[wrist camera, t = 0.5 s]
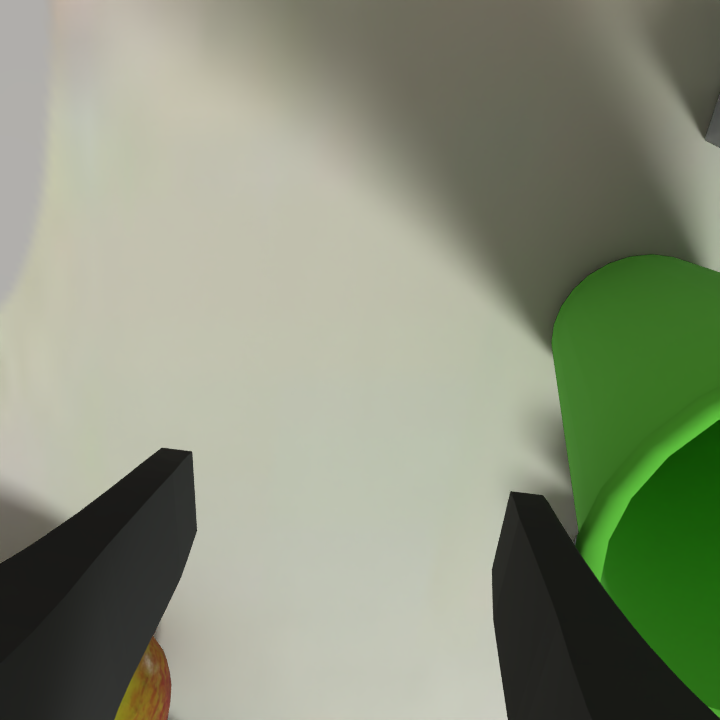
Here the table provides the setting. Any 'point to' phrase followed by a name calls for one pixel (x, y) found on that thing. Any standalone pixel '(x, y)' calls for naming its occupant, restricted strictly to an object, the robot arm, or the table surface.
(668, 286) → the cup
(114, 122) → the table surface
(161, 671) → the fruit
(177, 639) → the table surface
